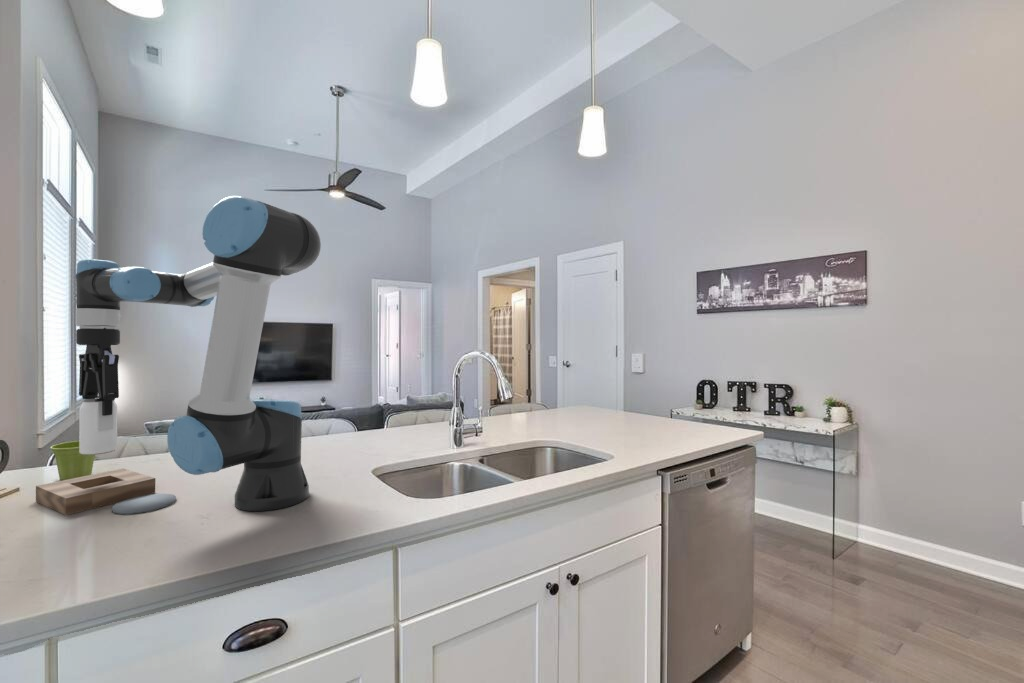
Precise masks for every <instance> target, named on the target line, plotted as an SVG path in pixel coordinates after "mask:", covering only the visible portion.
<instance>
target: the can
mask: <svg viewBox="0 0 1024 683" xmlns="http://www.w3.org/2000/svg"><path fill="white" fill-rule="evenodd" d="M96 399H97V398H95V399H90V400H85V399H82V401H81V402H82V403H81V405H80V406H79V413H78V414H79V421H78V424H79V425H78V426H79V428H78V429H79V430H78V432H79V435H78V437H79V438H78V441H79V452H80V453H81V454H82V455H103V454H104V455H105V454H109V453H112V452H116V450H117V449H118V405H117V403H116V402H115V400H113V429H108V430H101V431H97V402H96V401H95V400H96Z"/></svg>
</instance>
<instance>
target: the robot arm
mask: <svg viewBox="0 0 1024 683" xmlns="http://www.w3.org/2000/svg"><path fill="white" fill-rule="evenodd" d="M202 225H203V226H202V234H201V236H202V239H203V240H204V246H205V248H206V250H208V251H209V252H210V254H211V253H212V255H214V256H213V261H212V262H210V263H208V264H205V265H202V266H200V267H197V268H195V269H193V270H190V271H187V272H183V273H180V274H179V273H171V272H164V271H155V270H151V269H149V268H147V267H143V266H133V265H131V266H124V267H120V264H119V263H118V262H115V261H113V260H103V259H95V258H94V259H89V258H88V259H85V258H84V259H81V260H79V261H78V262H77V264H76V273H75V276H74V277H75V285H76V286H75V292H76V293H75V298H76V300H75V301H76V308H75V326H77V327H79V328H77V329H76V330H75V343H76V344H77V345H79V346H86V347H85V352H84V353H80V354H79V355H78V359H79V360H78V361H79V382H78V384H79V385H78V396H80V397H81V398H82V400H90V399H96V400H95V401H96V402H97V431H101V430H108V429H113V400H114V401H115V400H116V399H119V397H120V395H119V394H120V392H119V390H120V389H119V359H120V356H119V354H113V351H112V346H118V345H120V343H121V330H120V329H118V328H119V327H121V320H120V319H122V318H123V315H122V314H121V311H120V310H121V303H122V302H123V303H124V302H130V303H131V302H133V303H135V302H136V303H145V304H146V303H147V304H162V305H173V306H185V307H186V306H187V307H191V308H193V307H194V308H195V307H206V306H208V305H210V304H211V302H213V301H214V299H215V297H216V299H215V305H214V309H213V310H214V311H213V317H212V323H211V327H210V332H209V333H210V334H209V338H208V339H209V340H208V344H207V351H206V356H205V362H204V367H203V372H202V378H201V383H200V384H201V385H200V389H199V393H198V394H197V395H196V396H194V397H193V398H192V399H190V400H188V404H187V409H186V410H187V411H186V415H181V416H179V417H177V418H175V419H174V420H173V421H172V422H170V425H169V427H168V430H167V436H166V440H167V447H168V451H169V453H170V456H171V457H172V458H173V461H174V462H175V464H176V465H177V467H179V468H180V470H182V471H184V472H186V473H187V474H190V475H193V476H194V475H195V476H201V475H205V474H209V473H217V472H220V471H221V470H224V469H228V468H231V467H235V466H239V465H242V464H243V471H242V474H241V476H240V479H239V483H238V485H237V487H236V491H235V494H234V507H235V508H237V509H239V510H242V511H247V512H263V511H273V510H278V509H284V508H287V507H291V506H294V505H298V504H300V503H302V502H303V501H305V500H306V499H308V497H310V496H309V495H310V494H309V492H310V487H309V483H308V480H307V477H306V476H307V475H306V474H305V470H304V469H303V465H302V425H303V424H302V422H303V421H302V420H303V417H302V406H301V405H300V403H299V402H297V401H296V400H288V399H267V398H251V391H252V387H253V386H252V385H253V381H254V375H255V370H256V365H257V360H258V354H259V348H260V342H261V338H262V337H261V336H262V331H263V327H264V322H265V316H266V310H267V305H268V301H269V294H270V288H271V285H272V284H273V283H274V282H276V281H277V280H279V279H280V278H281V277H282V276H283V277H286V276H287V277H288V276H290V275H293V274H296V273H298V272H301V271H304V270H307V269H308V268H310V267H311V266H312V265H314V264H315V262H316V261H317V259H318V258H319V256H320V252H321V248H322V245H321V238H320V234H319V232H318V230H317V229H316V227H315V226H314V225H313V224H312V222H311V221H309V219H307V218H305V217H304V216H302V215H300V214H298V213H294V212H291V211H288V210H285V209H283V208H279V207H276V206H273V205H270V204H268V203H266V202H264V201H260V200H257V199H256V198H254V199H252V198H248V197H245V196H244V197H243V196H239V195H231V196H227V197H224V198H223V199H221V200H219V201H218V203H215V204H214V205H213V206H212V207H211V209H210V210H209V211H208V213H207V214H206V217H205V219H204V221H203V224H202Z"/></svg>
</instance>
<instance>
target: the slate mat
mask: <svg viewBox="0 0 1024 683" xmlns="http://www.w3.org/2000/svg"><path fill="white" fill-rule="evenodd" d="M176 501H177V496H176V495H175V494H171V493H153V494H149V495H144V496H139V497H134V498H130V499H127V500H124V501H121V502H117V503H114V504H113V505H112V507H111V508H112V509H111V511H112V513H114V514H117V515H135V514H143V513H147V512H148V513H149V512H153V511H156V510H161V509H163V508H167V507H169V506H170V505H171V506H172V505H173V504H174V503H176Z"/></svg>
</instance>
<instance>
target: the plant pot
mask: <svg viewBox="0 0 1024 683" xmlns="http://www.w3.org/2000/svg"><path fill="white" fill-rule="evenodd" d="M50 450H52V454H53V455H54V458H55V463H56V467H57V472H58V478H59V480H60V481H63V480H68V479H73V478H78V477H83V476H88V475H92V473H93V468H94V467H93V466H94V461H95V455H82V454H81V453H80V452H79V440H75V441H67V442H61V443H58V444H53V445H51V446H50Z"/></svg>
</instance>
